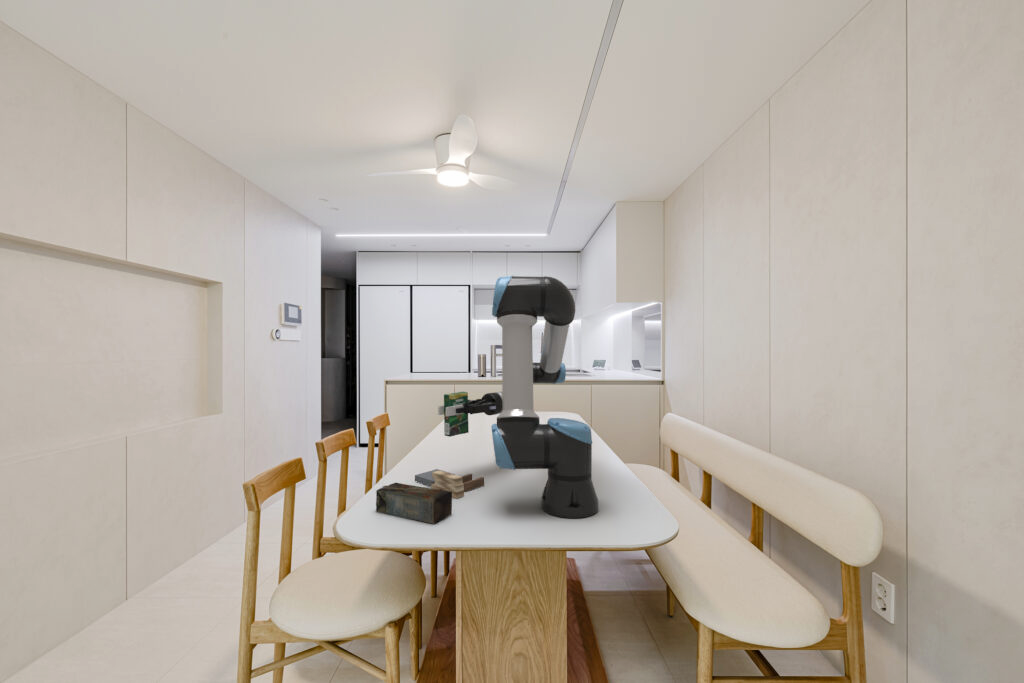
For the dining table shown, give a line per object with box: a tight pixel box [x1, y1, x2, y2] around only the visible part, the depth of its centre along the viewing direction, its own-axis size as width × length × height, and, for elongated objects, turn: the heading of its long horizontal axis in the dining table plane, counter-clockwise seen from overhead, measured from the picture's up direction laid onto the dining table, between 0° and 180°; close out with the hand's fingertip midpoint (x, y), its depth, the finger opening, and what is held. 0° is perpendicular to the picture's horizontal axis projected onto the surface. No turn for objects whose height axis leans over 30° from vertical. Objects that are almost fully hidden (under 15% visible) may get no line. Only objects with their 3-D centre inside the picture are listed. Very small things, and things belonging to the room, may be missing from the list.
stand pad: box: [414, 468, 456, 487], centre depth 138 cm, size 9×9×2 cm
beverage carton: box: [375, 482, 453, 525], centre depth 112 cm, size 8×19×7 cm, turn 64°
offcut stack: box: [430, 469, 465, 499], centre depth 127 cm, size 11×3×5 cm, turn 49°
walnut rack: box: [460, 473, 485, 493], centre depth 133 cm, size 6×8×2 cm
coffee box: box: [443, 391, 470, 437], centre depth 136 cm, size 8×3×13 cm, turn 137°
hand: (442, 411), depth 132 cm, fingers closed on coffee box, 3 cm apart
